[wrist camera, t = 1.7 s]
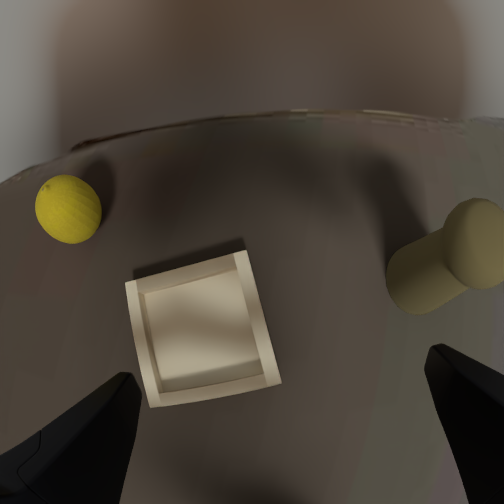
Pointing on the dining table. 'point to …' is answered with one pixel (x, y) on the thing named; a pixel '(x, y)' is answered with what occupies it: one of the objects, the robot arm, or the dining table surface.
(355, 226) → the dining table surface
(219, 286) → the holder
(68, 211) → the lemon
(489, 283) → the olive green cylinder
